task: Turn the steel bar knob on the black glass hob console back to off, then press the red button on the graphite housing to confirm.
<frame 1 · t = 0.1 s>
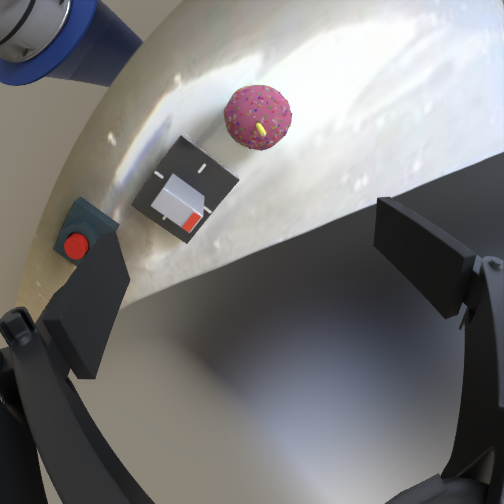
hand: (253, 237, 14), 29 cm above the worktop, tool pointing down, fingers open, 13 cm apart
cupcake: (252, 116, 38), on the worktop
button box: (86, 234, 42), on the worktop
confirm button: (76, 246, 38), point 5 cm above the worktop, slide at 0.2 cm
hob knob: (180, 200, 35), point 7 cm above the worktop, hinge at 90.0°
hob console: (185, 186, 41), on the worktop
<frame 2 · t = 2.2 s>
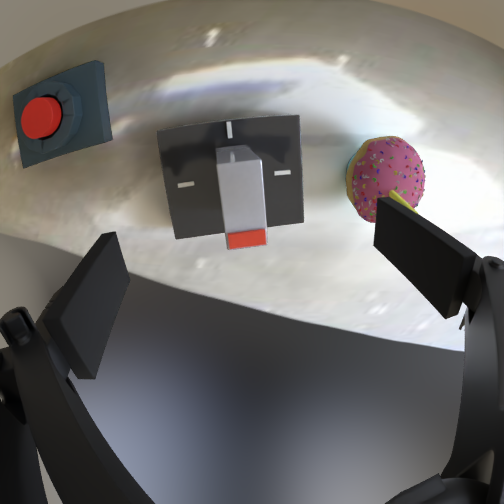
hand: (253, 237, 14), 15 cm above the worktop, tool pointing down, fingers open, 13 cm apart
cupcake: (365, 169, 29), on the worktop
button box: (63, 114, 22), on the worktop
confirm button: (41, 117, 18), point 5 cm above the worktop, slide at 0.2 cm
hob knob: (238, 190, 21), point 7 cm above the worktop, hinge at 90.0°
hob console: (232, 170, 27), on the worktop
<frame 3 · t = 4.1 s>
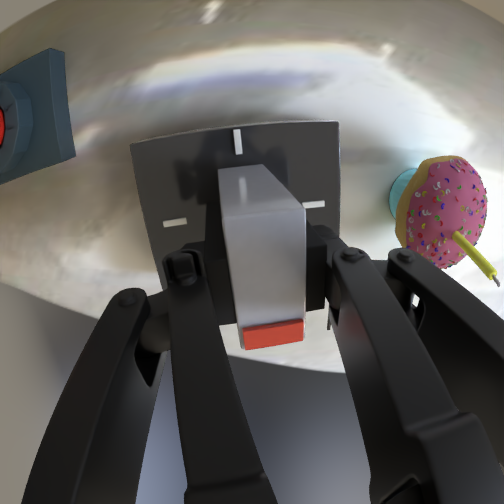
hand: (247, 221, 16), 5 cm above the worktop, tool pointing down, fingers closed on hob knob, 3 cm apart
cupcake: (409, 194, 21), on the worktop
button box: (16, 124, 14), on the worktop
hob knob: (254, 241, 13), point 7 cm above the worktop, hinge at 90.0°, touching gripper
hob console: (240, 197, 20), on the worktop
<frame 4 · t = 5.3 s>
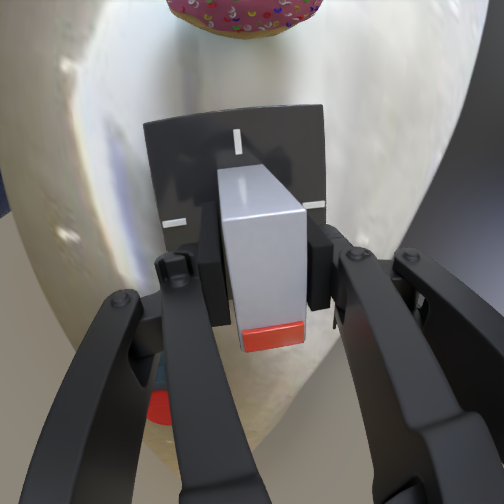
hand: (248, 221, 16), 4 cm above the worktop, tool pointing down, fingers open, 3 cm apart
cupcake: (235, 0, 13), on the worktop
button box: (167, 371, 26), on the worktop
confirm button: (164, 408, 22), point 5 cm above the worktop, slide at 0.2 cm
hob knob: (254, 242, 13), point 7 cm above the worktop, hinge at 0.0°
hob console: (240, 198, 20), on the worktop
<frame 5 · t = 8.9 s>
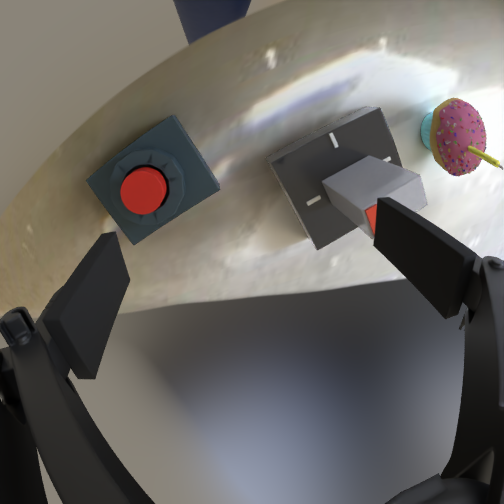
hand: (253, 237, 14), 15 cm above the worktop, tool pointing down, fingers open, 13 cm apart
cupcake: (433, 130, 27), on the worktop
button box: (153, 178, 26), on the worktop
confirm button: (143, 190, 22), point 5 cm above the worktop, slide at 0.2 cm
hob knob: (372, 191, 22), point 7 cm above the worktop, hinge at 0.0°
hob console: (338, 172, 28), on the worktop
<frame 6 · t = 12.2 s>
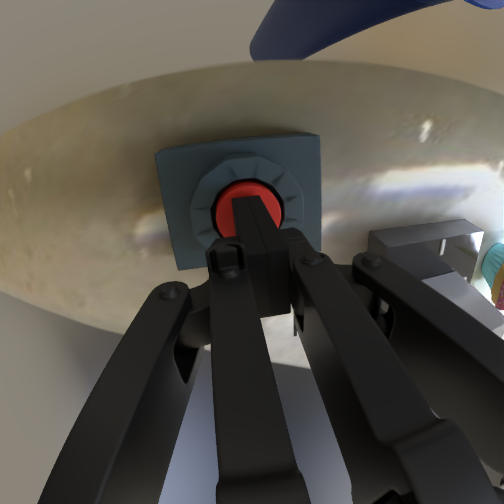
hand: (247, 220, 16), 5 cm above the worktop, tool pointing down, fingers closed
cupcake: (492, 258, 27), on the worktop
button box: (241, 195, 20), on the worktop
confirm button: (247, 212, 17), point 4 cm above the worktop, slide at -0.8 cm, touching gripper
hob knob: (458, 314, 19), point 7 cm above the worktop, hinge at 0.0°
hob console: (415, 271, 25), on the worktop
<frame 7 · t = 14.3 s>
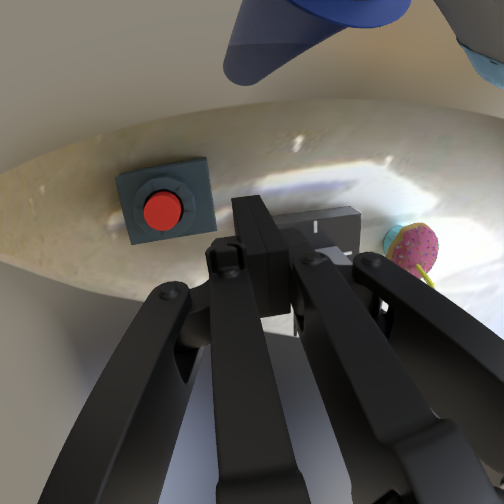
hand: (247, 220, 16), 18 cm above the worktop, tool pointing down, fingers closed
cupcake: (395, 239, 39), on the worktop
button box: (168, 198, 32), on the worktop
confirm button: (162, 210, 28), point 5 cm above the worktop, slide at 0.2 cm
hob knob: (327, 276, 31), point 7 cm above the worktop, hinge at 0.0°
hob console: (307, 248, 37), on the worktop
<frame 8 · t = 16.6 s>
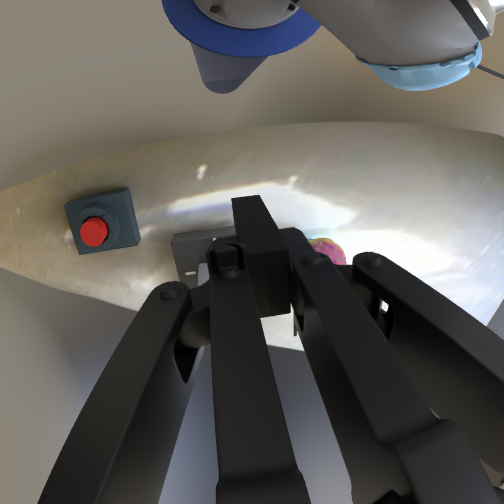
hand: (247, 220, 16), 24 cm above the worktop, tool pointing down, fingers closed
cupcake: (308, 251, 46), on the worktop
button box: (104, 219, 39), on the worktop
confirm button: (93, 231, 35), point 5 cm above the worktop, slide at 0.2 cm
hob knob: (220, 284, 38), point 7 cm above the worktop, hinge at 0.0°
hob console: (218, 258, 44), on the worktop
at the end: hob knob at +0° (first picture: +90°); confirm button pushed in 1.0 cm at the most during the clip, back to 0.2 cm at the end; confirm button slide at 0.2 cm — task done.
